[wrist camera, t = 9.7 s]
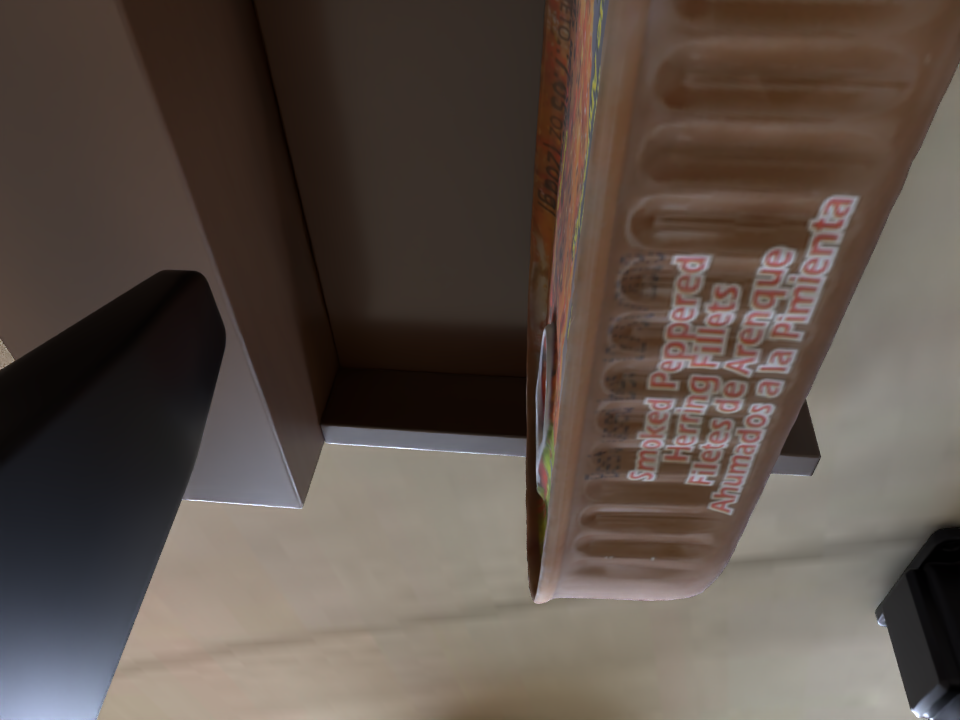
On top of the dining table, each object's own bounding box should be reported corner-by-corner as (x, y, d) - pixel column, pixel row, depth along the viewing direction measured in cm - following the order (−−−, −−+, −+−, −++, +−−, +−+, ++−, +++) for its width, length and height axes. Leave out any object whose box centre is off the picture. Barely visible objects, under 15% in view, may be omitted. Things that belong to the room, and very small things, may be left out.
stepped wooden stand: (1292, -1042, 7) (2287, -1973, 3) (783, 358, 21) (830, 551, 16) (-289, -848, 9) (-1089, -1257, 5) (196, 328, 22) (103, 495, 18)
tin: (589, -697, 8) (572, -1665, 2) (904, -703, 8) (2021, -1825, 2) (523, 343, 18) (488, 687, 13) (651, 353, 18) (678, 708, 12)
